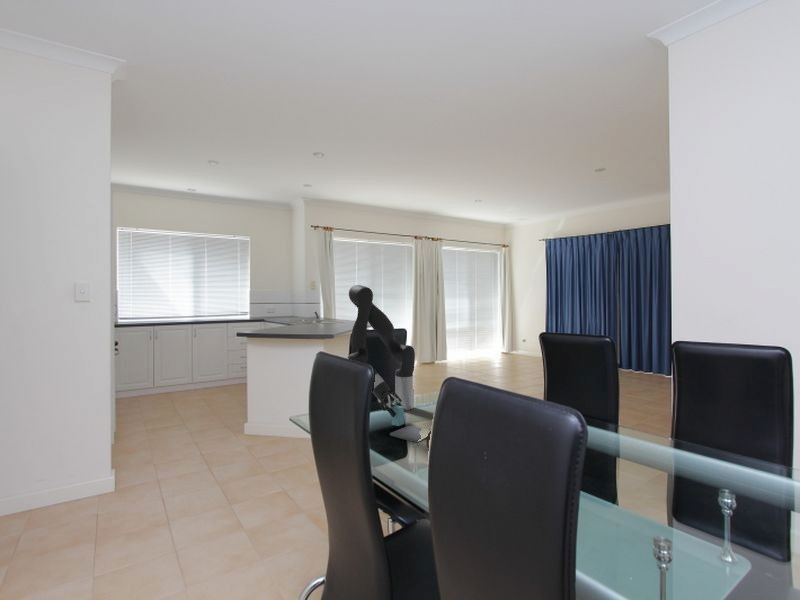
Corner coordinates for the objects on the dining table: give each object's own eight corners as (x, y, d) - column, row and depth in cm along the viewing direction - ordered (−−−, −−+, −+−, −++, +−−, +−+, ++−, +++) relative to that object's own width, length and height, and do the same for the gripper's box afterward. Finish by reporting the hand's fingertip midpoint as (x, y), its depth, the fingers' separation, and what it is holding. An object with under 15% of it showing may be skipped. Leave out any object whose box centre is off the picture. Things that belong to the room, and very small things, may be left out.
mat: (409, 427, 186) (409, 425, 186) (436, 433, 177) (436, 431, 177) (390, 435, 175) (389, 433, 175) (416, 442, 166) (416, 440, 166)
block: (397, 422, 193) (396, 405, 193) (403, 424, 191) (403, 406, 190) (391, 424, 190) (391, 407, 190) (398, 426, 187) (398, 408, 187)
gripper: (374, 383, 187) (397, 412, 182) (390, 378, 200) (411, 405, 195) (365, 394, 190) (386, 422, 185) (381, 388, 203) (401, 414, 197)
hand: (399, 413), depth 190 cm, fingers open, 8 cm apart
